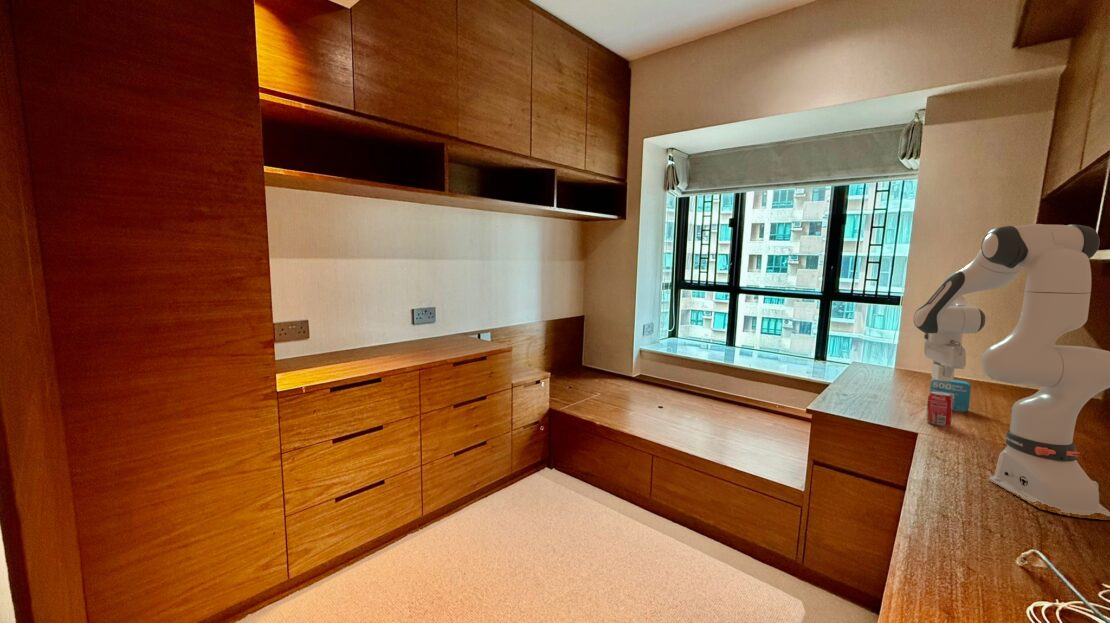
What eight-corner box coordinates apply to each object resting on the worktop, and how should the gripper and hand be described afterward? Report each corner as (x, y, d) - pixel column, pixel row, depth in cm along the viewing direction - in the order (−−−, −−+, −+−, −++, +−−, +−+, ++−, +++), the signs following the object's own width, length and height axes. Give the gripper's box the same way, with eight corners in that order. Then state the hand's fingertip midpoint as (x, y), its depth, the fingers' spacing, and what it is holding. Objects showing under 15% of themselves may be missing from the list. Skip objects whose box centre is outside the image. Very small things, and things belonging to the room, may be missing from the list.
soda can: (940, 420, 163) (943, 390, 161) (956, 427, 156) (959, 396, 154) (920, 420, 163) (923, 390, 162) (935, 427, 156) (938, 395, 155)
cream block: (953, 381, 155) (954, 367, 154) (937, 380, 156) (938, 367, 156) (946, 377, 159) (947, 365, 159) (931, 377, 161) (932, 364, 160)
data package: (928, 406, 179) (930, 378, 178) (929, 403, 182) (932, 376, 181) (967, 413, 170) (970, 384, 169) (968, 410, 173) (971, 382, 172)
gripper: (973, 343, 145) (970, 383, 147) (941, 334, 164) (938, 368, 166) (951, 343, 147) (947, 381, 149) (921, 333, 166) (918, 367, 168)
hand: (942, 374), depth 158 cm, fingers closed on cream block, 5 cm apart
